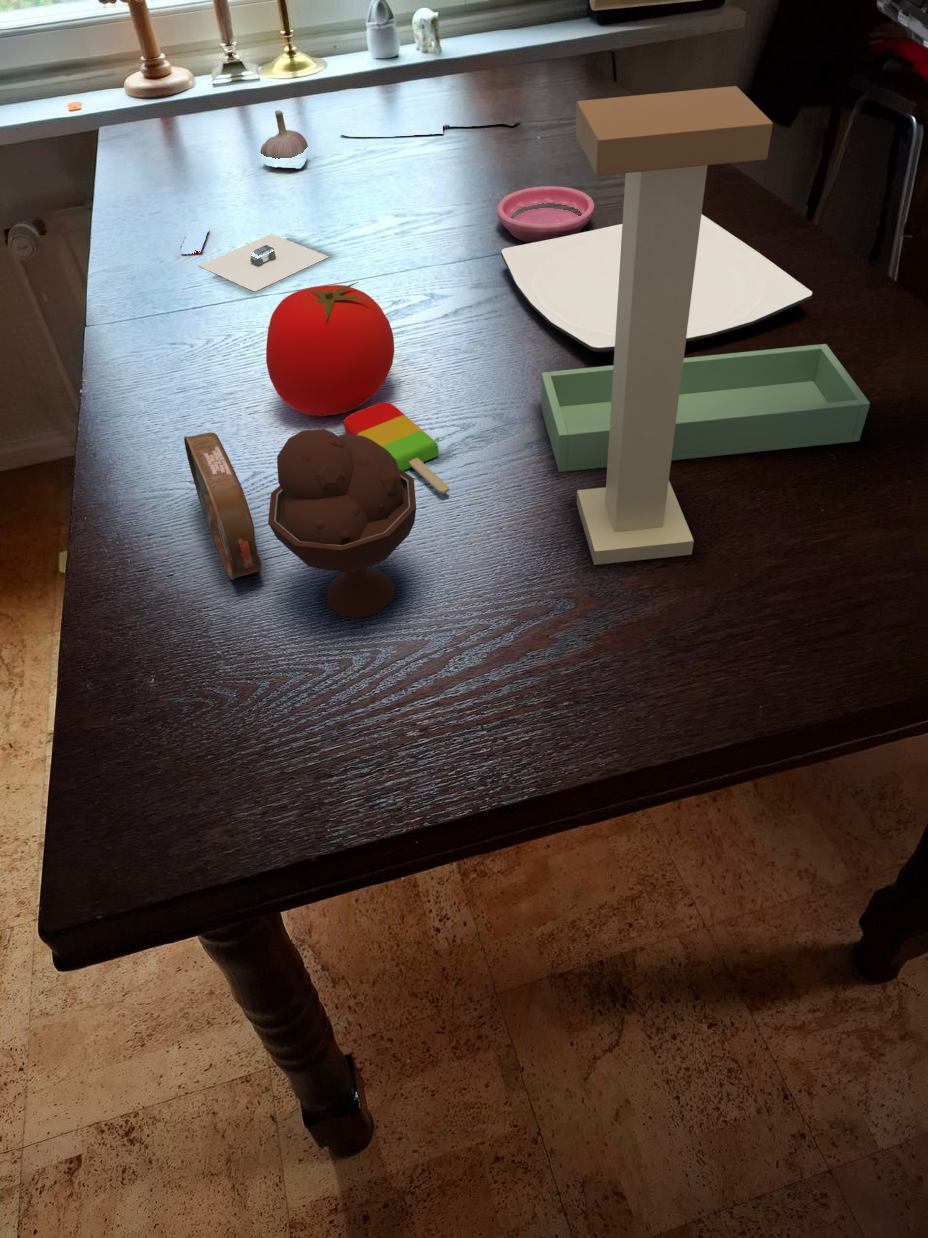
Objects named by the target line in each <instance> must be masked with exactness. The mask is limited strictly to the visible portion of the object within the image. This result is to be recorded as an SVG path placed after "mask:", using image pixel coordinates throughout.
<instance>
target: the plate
mask: <svg viewBox="0 0 928 1238" xmlns="http://www.w3.org/2000/svg"><path fill="white" fill-rule="evenodd" d="M622 224H623V223H620V224H616V225H611V226H607V227H606V226H605V227H601V228H596V229H593V230H588V231H583V232H579V233H578V234H573V235H569V236H564V237H560V238H555V239H550V240H544V241H539V242H534V243H531V242H528V243H524V244H520V245H514V246H508V247H504V248H502V249H501V250H500V256H501V258H502V260H503V262H504V264H505V266H506V268H507V271H508V272H509V274H510V276H511V278H512V280H513V283H514V284H515V286H516V287H515V288H517V290H518V291H519V292H520V293H521V295H522V296H523V298H524V299H525V300H526V301H527V303H528V304H529V305H530V307H532V309H534V310H535V311H536V312H537V314H539V315H540V316H541V317H542V318H543V319H544V320H545V321H546V322H547V323H548V324H550V325H551V326H552V327H553V328H555V329H556V330H557V331H559V332H561V333H562V334H564V335H566V336H568V337H569V338H570V339H573V340H574V341H575V342H577V343H579V344H580V345H582V346H583V347H585V348H587V349H588V350H590V351H592V352H594V353H600V354H606V353H607V354H608V353H614V351H615V335H616V319H617V303H618V287H619V271H620V255H621V240H622ZM812 297H813V291H812V290H810V289H809V288H808V287H806V286H805V285H804V284H802V283H801V282H800V281H798V280H797V279H795V278H794V277H793V276H791V275H790V274H789V273H787V272H786V271H785V270H783V269H782V268H780V267H779V266H777V264H775V263H774V262H772V261H771V260H769V258H767V257H766V256H764V255H763V254H761V253H760V252H759V251H758V250H755V249H754V248H753V247H751V246H750V245H748V244H747V243H745V242H744V241H742V240H741V239H740V238H738V237H736V236H735V235H733V234H732V233H730V232H729V231H728V230H727V229H724V228H723V227H721V226H720V225H719V224H717V223H716V222H714V221H713V220H711V218H708V217H707V216H706V215H704V214H703V213H702V214H701V222H700V230H699V239H698V247H697V255H696V263H695V271H694V279H693V287H692V295H691V304H690V312H689V320H688V328H687V336H686V343H691V342H696V341H699V340H705V339H709V338H713V337H716V336H720V335H723V334H728V333H730V332H734V331H738V330H741V329H745V328H747V327H750V326H753V325H755V324H757V323H759V322H762V321H764V320H767V319H769V318H771V317H773V316H775V315H777V314H779V313H782V312H784V311H786V310H788V309H791V308H794V307H795V306H798V305H801V304H802V303H804V302H806V301H809V300H811V299H812Z"/></svg>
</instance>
